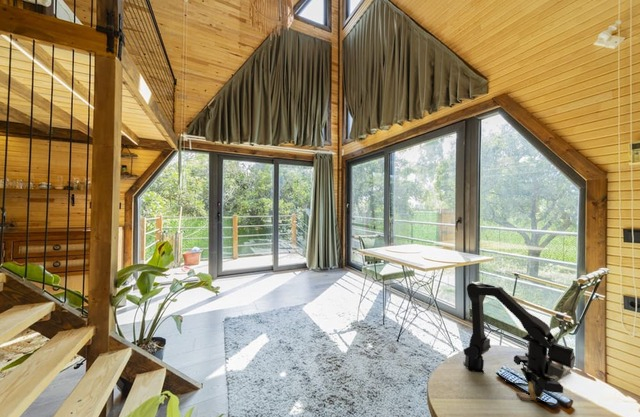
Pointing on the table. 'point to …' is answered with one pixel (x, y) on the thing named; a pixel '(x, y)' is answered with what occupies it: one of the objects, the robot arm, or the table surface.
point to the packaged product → (561, 368)
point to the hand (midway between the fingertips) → (535, 393)
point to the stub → (530, 390)
